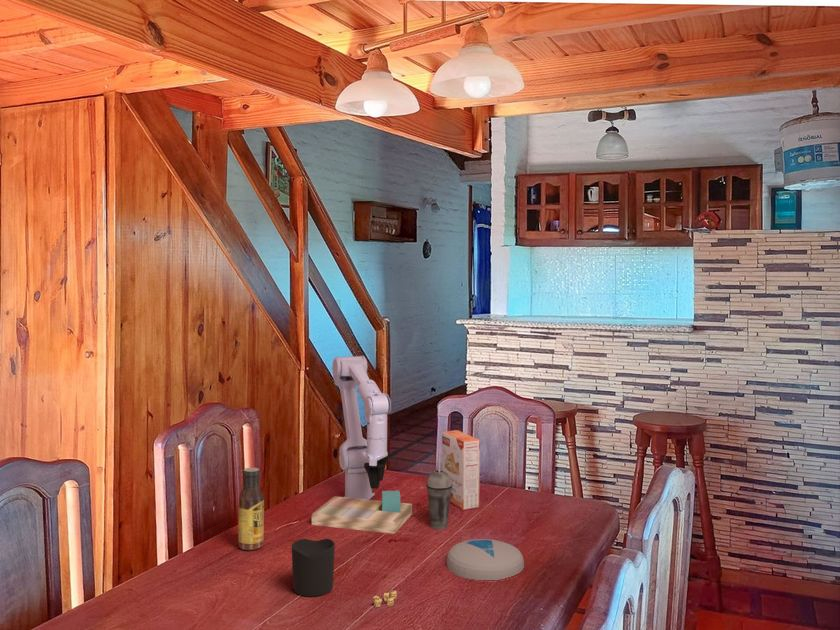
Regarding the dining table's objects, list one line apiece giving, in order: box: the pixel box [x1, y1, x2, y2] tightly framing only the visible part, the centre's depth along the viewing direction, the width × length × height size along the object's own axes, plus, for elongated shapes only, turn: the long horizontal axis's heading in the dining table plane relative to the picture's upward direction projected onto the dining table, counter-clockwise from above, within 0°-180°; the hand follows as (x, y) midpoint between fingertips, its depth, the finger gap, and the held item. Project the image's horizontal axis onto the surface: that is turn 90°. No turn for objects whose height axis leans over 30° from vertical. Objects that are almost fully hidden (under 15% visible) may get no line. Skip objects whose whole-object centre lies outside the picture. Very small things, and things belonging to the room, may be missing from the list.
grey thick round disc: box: [446, 538, 525, 581], centre depth 176 cm, size 18×18×5 cm
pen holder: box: [291, 538, 336, 598], centre depth 162 cm, size 9×9×10 cm
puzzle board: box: [311, 495, 413, 535], centre depth 207 cm, size 24×16×3 cm
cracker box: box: [441, 429, 481, 511], centre depth 222 cm, size 14×6×21 cm, turn 25°
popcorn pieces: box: [372, 589, 398, 608], centre depth 156 cm, size 5×5×2 cm
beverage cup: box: [425, 455, 453, 531], centre depth 201 cm, size 7×7×20 cm
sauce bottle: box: [237, 467, 265, 551], centre depth 186 cm, size 6×6×20 cm
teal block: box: [381, 490, 401, 513], centre depth 209 cm, size 5×5×6 cm
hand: (376, 484), depth 209 cm, fingers open, 7 cm apart
